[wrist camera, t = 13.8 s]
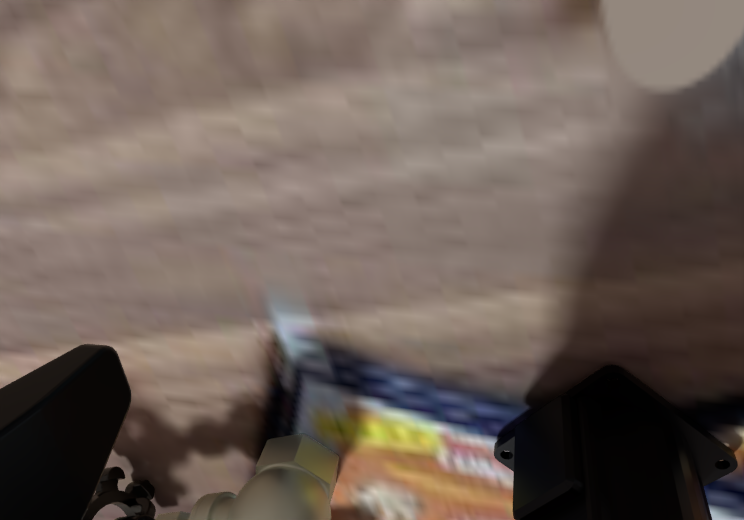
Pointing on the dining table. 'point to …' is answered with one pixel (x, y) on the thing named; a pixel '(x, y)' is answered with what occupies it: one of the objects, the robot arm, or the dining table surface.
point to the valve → (257, 497)
